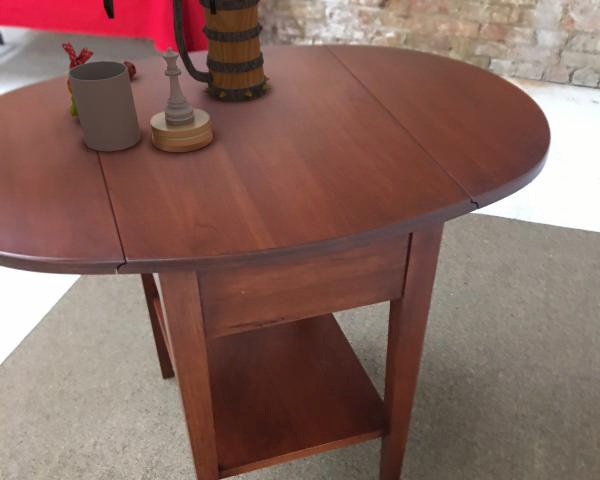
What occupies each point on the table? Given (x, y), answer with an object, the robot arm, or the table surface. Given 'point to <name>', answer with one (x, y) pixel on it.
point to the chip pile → (181, 133)
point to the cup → (105, 105)
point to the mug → (228, 50)
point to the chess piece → (176, 94)
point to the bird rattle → (75, 62)
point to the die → (130, 68)
